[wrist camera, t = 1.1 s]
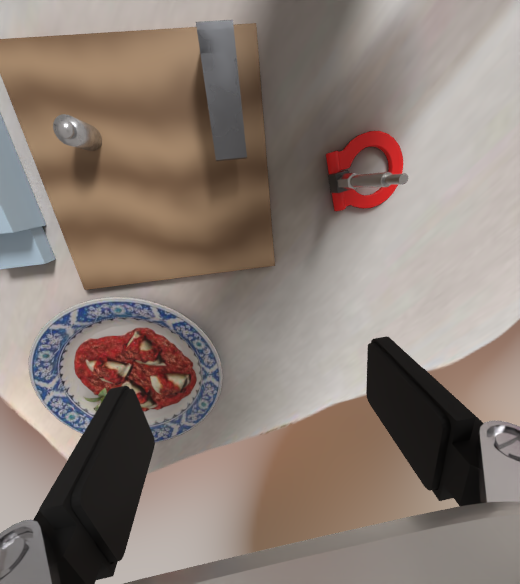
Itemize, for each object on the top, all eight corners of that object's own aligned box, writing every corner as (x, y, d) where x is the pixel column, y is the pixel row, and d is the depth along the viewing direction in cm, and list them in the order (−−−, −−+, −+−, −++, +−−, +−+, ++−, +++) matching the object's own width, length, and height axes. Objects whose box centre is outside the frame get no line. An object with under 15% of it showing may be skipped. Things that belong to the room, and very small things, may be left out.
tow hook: (395, 123, 31) (321, 146, 30) (509, 83, 19) (390, 119, 18) (399, 196, 34) (332, 217, 34) (498, 201, 22) (397, 234, 22)
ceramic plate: (168, 260, 33) (163, 266, 31) (248, 396, 43) (250, 410, 41) (-6, 338, 35) (-26, 351, 32) (111, 453, 45) (104, 470, 42)
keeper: (200, 47, 25) (195, 22, 21) (231, 45, 25) (232, 19, 21) (217, 163, 29) (215, 160, 25) (244, 161, 29) (247, 157, 25)
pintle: (72, 125, 26) (42, 113, 22) (97, 122, 26) (72, 110, 22) (81, 152, 27) (53, 145, 23) (105, 149, 27) (82, 143, 23)
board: (-4, 45, 24) (-13, 40, 23) (255, 29, 25) (256, 23, 25) (88, 286, 33) (84, 289, 32) (273, 263, 35) (274, 265, 34)
